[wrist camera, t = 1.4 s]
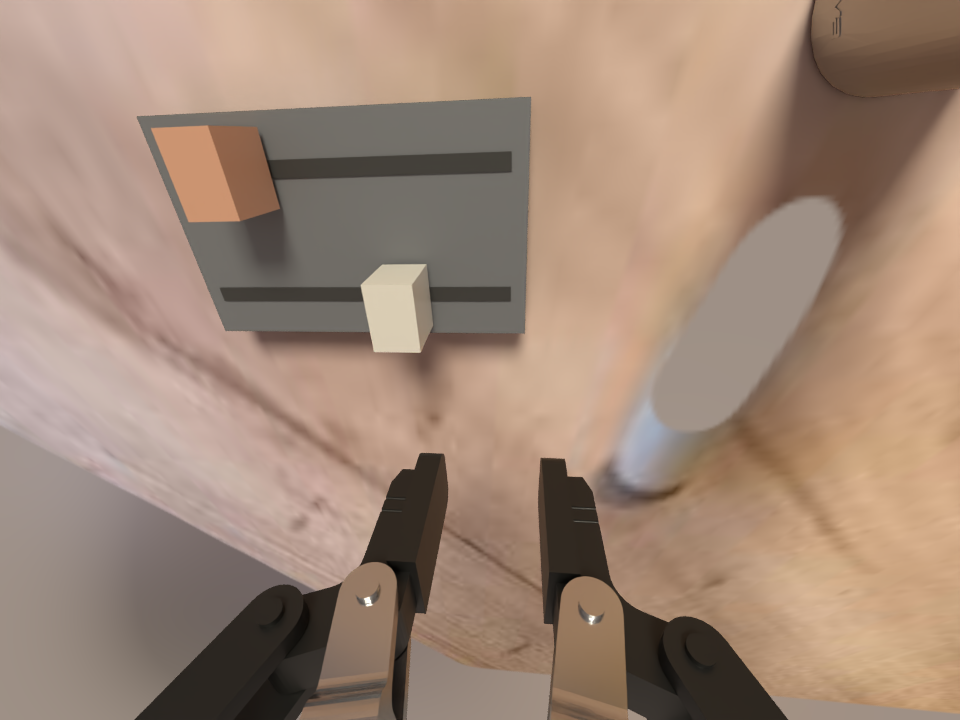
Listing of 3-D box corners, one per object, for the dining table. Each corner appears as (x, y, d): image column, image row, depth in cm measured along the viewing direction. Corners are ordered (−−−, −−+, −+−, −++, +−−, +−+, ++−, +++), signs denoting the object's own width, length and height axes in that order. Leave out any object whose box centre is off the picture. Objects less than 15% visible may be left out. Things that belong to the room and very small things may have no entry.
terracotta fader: (256, 126, 22) (207, 125, 18) (280, 208, 24) (240, 221, 21) (208, 128, 22) (150, 127, 19) (235, 209, 24) (188, 222, 21)
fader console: (529, 101, 23) (530, 96, 20) (524, 316, 30) (524, 334, 27) (176, 118, 25) (134, 116, 22) (249, 315, 32) (224, 331, 29)
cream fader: (426, 264, 25) (411, 284, 22) (433, 325, 27) (420, 352, 24) (382, 264, 25) (360, 285, 22) (392, 324, 27) (374, 352, 24)
